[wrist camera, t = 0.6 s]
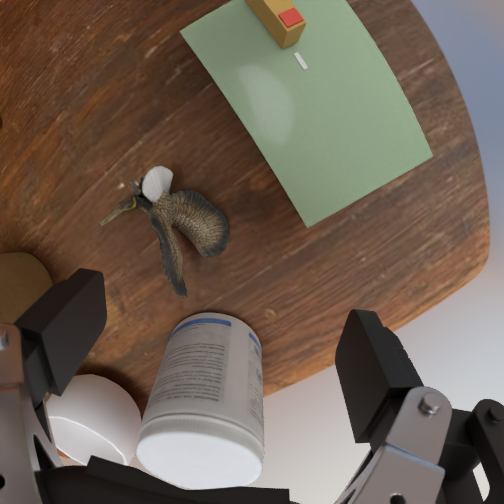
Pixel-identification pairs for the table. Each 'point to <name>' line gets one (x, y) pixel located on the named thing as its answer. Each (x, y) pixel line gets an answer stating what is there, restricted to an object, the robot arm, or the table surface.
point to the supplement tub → (206, 406)
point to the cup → (95, 420)
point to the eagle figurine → (176, 221)
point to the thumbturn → (280, 20)
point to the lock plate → (313, 102)
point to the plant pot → (20, 284)
